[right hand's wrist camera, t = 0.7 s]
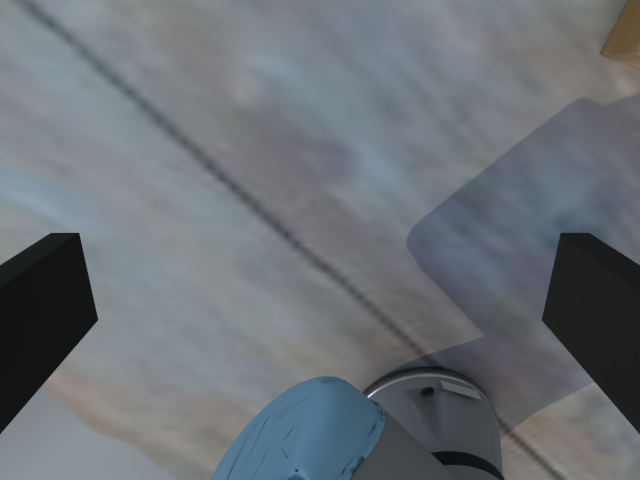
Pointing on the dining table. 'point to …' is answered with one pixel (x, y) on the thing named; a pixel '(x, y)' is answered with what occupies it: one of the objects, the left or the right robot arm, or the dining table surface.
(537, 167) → the dining table surface
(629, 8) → the bar
